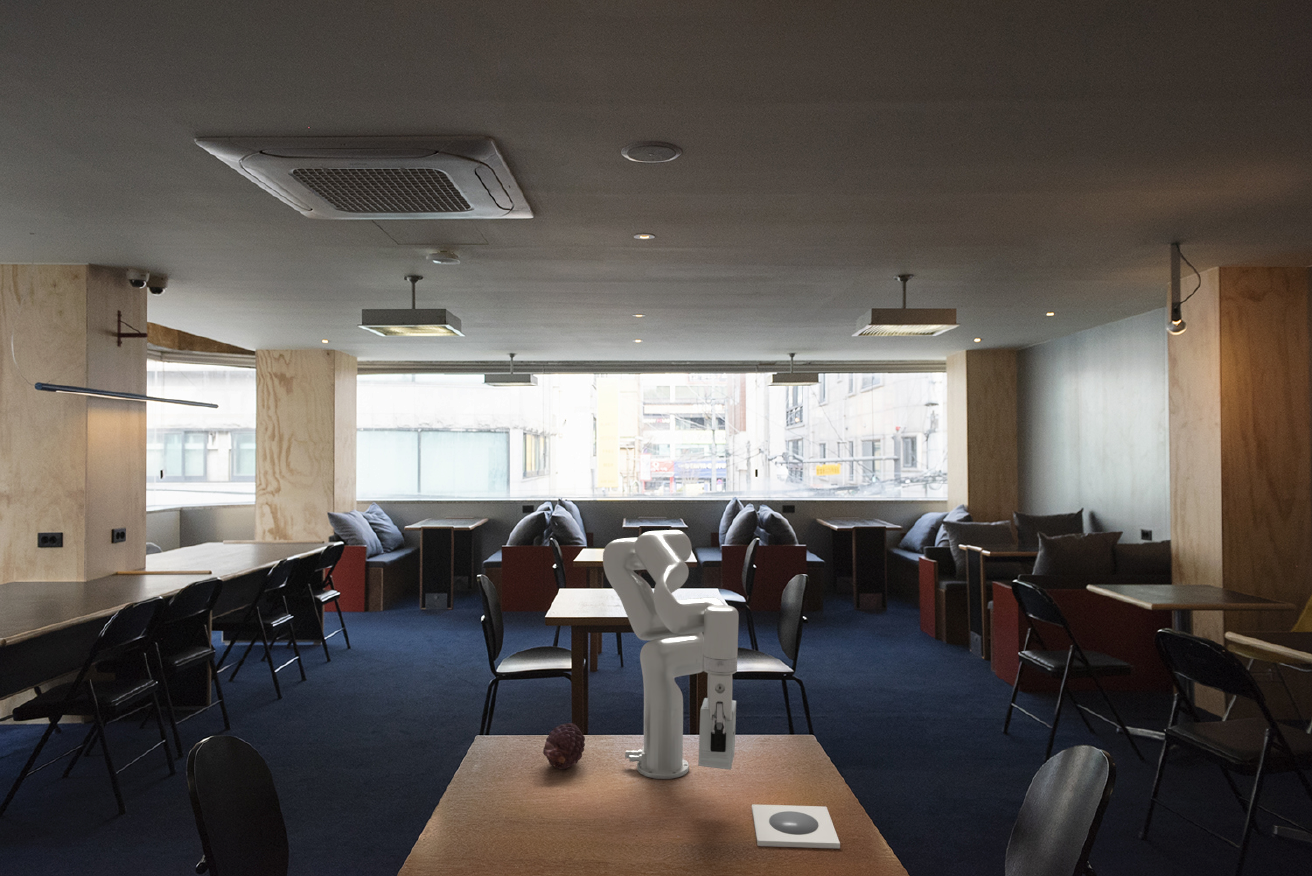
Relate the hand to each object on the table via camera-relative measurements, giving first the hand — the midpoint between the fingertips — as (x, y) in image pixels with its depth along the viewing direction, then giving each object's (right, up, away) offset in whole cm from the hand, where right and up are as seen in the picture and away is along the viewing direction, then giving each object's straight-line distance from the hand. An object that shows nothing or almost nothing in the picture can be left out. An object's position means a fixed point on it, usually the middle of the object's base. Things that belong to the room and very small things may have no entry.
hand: (717, 743), depth 173 cm
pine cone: (-36, -14, +22) cm, 44 cm away
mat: (+15, -14, -10) cm, 23 cm away
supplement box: (0, -4, 0) cm, 4 cm away
